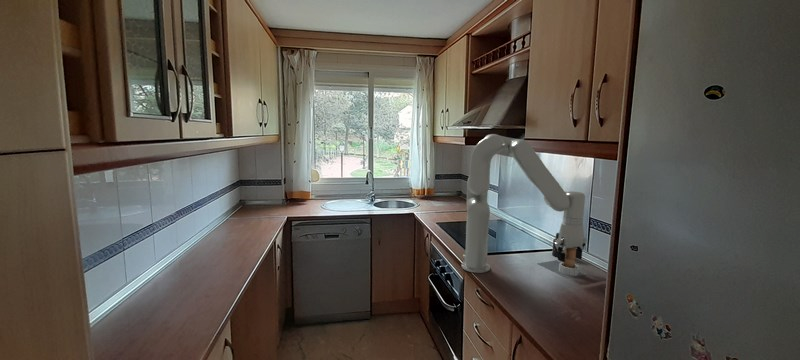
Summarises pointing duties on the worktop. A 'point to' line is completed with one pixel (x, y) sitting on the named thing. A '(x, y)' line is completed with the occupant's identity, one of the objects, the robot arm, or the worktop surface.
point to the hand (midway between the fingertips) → (569, 259)
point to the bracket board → (562, 269)
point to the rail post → (570, 257)
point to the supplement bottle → (554, 250)
